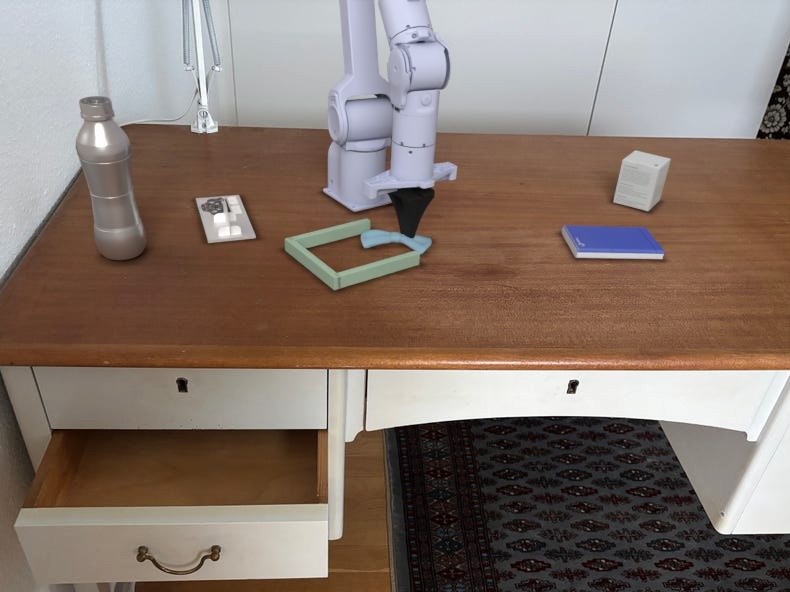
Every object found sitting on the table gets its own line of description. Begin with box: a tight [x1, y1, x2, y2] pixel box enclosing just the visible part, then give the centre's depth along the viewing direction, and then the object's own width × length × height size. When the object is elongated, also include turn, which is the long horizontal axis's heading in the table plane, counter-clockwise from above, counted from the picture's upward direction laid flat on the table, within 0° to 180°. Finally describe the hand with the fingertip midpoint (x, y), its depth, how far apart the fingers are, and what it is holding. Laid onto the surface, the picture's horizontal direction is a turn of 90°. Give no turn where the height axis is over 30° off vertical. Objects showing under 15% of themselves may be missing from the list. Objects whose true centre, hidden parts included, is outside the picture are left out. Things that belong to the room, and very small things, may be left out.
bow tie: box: [360, 229, 433, 256], centre depth 101 cm, size 10×2×5 cm
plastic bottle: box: [74, 95, 147, 261], centre depth 90 cm, size 6×7×20 cm
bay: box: [284, 217, 421, 291], centre depth 97 cm, size 13×14×2 cm
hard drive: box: [561, 224, 665, 260], centre depth 103 cm, size 2×8×12 cm
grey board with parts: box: [195, 194, 257, 244], centre depth 105 cm, size 15×7×4 cm, turn 18°
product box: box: [612, 150, 672, 212], centre depth 116 cm, size 6×6×7 cm
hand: (407, 235), depth 102 cm, fingers closed
